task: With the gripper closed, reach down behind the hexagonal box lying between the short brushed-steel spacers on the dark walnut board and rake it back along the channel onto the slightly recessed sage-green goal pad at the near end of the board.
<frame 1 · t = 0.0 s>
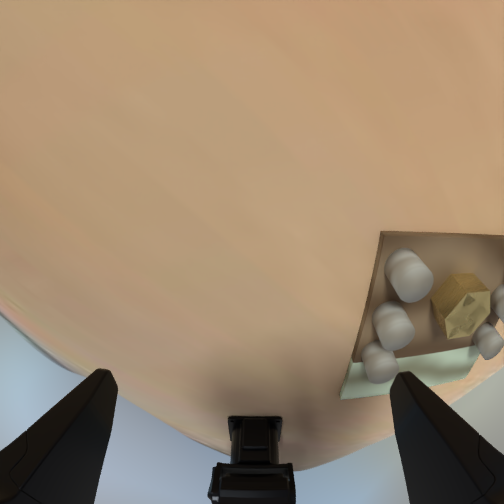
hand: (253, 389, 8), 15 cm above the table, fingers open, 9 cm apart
hexagonal box: (454, 296, 24), point 1 cm above the table, touching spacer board
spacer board: (437, 324, 26), on the table
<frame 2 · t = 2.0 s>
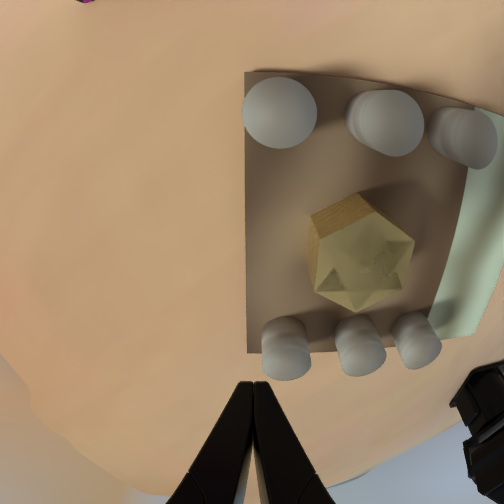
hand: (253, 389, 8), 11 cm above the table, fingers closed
hexagonal box: (350, 240, 17), point 1 cm above the table, touching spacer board
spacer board: (404, 235, 18), on the table
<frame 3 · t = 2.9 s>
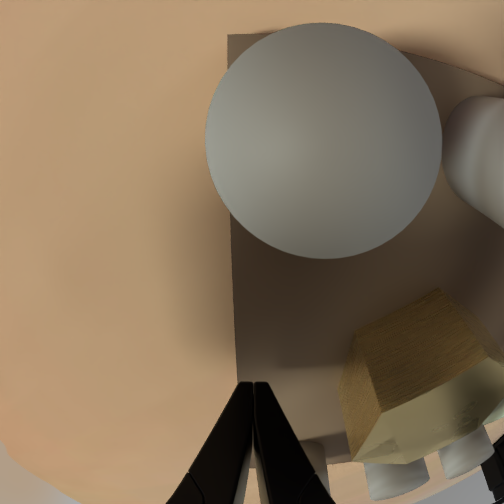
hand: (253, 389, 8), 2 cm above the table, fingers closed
hexagonal box: (411, 355, 9), point 1 cm above the table, touching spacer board
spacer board: (480, 329, 10), on the table
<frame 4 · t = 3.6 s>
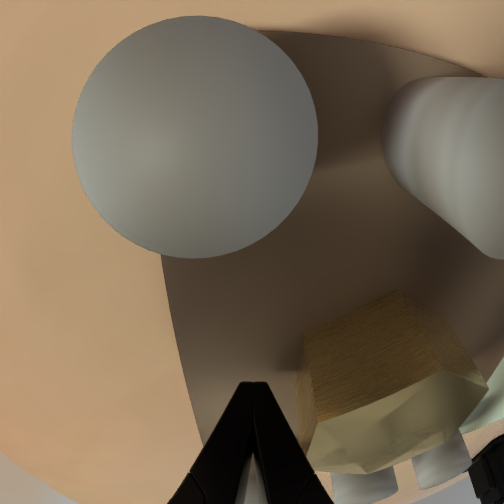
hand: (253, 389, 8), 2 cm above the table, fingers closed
hexagonal box: (373, 361, 9), point 1 cm above the table, touching gripper
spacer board: (452, 335, 10), on the table
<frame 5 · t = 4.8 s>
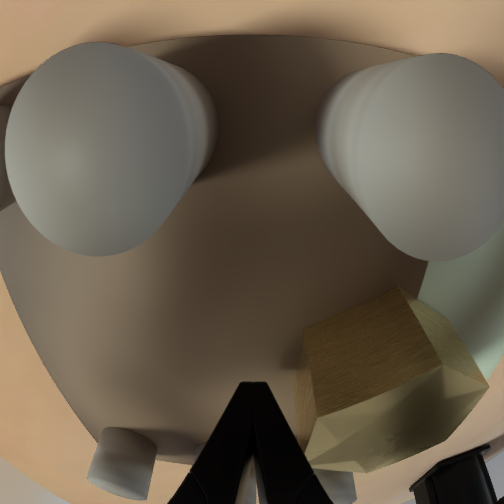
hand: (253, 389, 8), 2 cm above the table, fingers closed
hexagonal box: (372, 358, 9), point 1 cm above the table, touching gripper, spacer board
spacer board: (290, 348, 10), on the table
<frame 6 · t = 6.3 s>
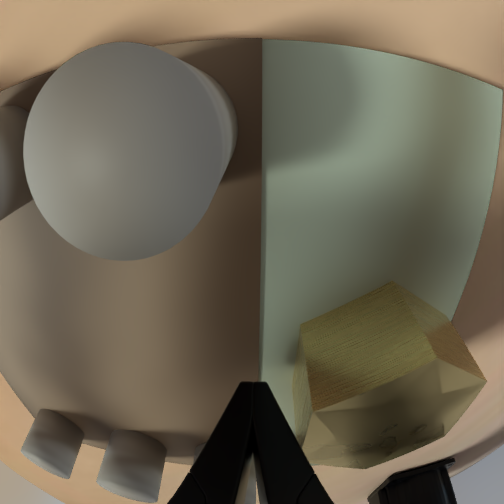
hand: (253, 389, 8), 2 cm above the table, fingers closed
hexagonal box: (370, 354, 9), point 1 cm above the table, touching gripper, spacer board
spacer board: (157, 345, 10), on the table
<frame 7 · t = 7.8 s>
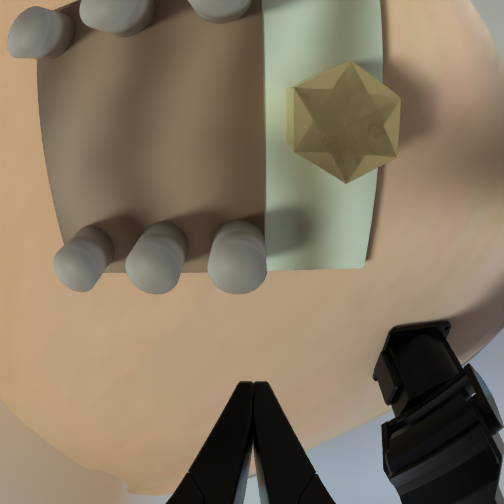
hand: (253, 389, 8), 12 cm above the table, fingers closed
hexagonal box: (332, 117, 15), point 1 cm above the table, touching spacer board
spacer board: (198, 122, 16), on the table
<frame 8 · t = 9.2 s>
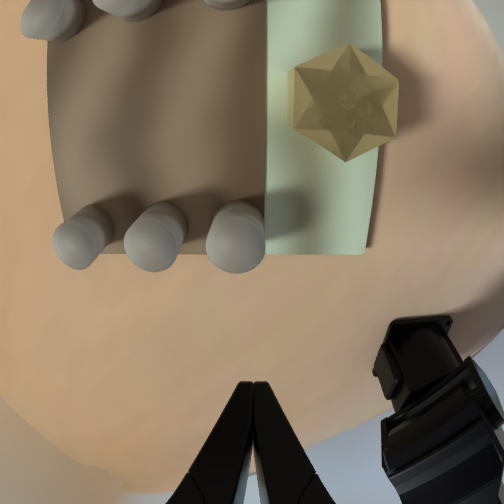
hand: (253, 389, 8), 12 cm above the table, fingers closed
hexagonal box: (333, 101, 15), point 1 cm above the table, touching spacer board
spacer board: (202, 104, 16), on the table
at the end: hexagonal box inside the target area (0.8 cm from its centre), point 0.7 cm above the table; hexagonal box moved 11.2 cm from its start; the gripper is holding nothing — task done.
